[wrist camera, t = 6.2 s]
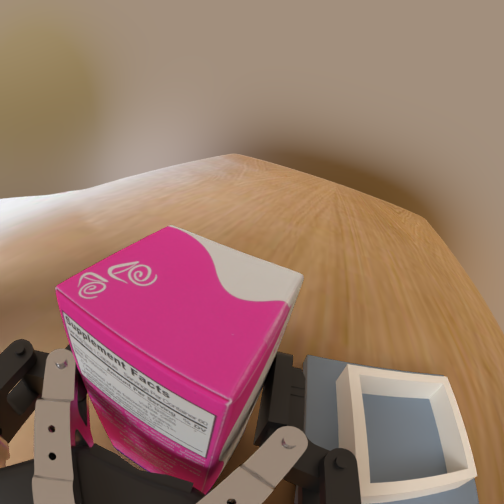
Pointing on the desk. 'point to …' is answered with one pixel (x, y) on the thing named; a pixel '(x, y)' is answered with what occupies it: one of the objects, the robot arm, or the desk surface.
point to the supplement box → (177, 347)
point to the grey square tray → (391, 431)
